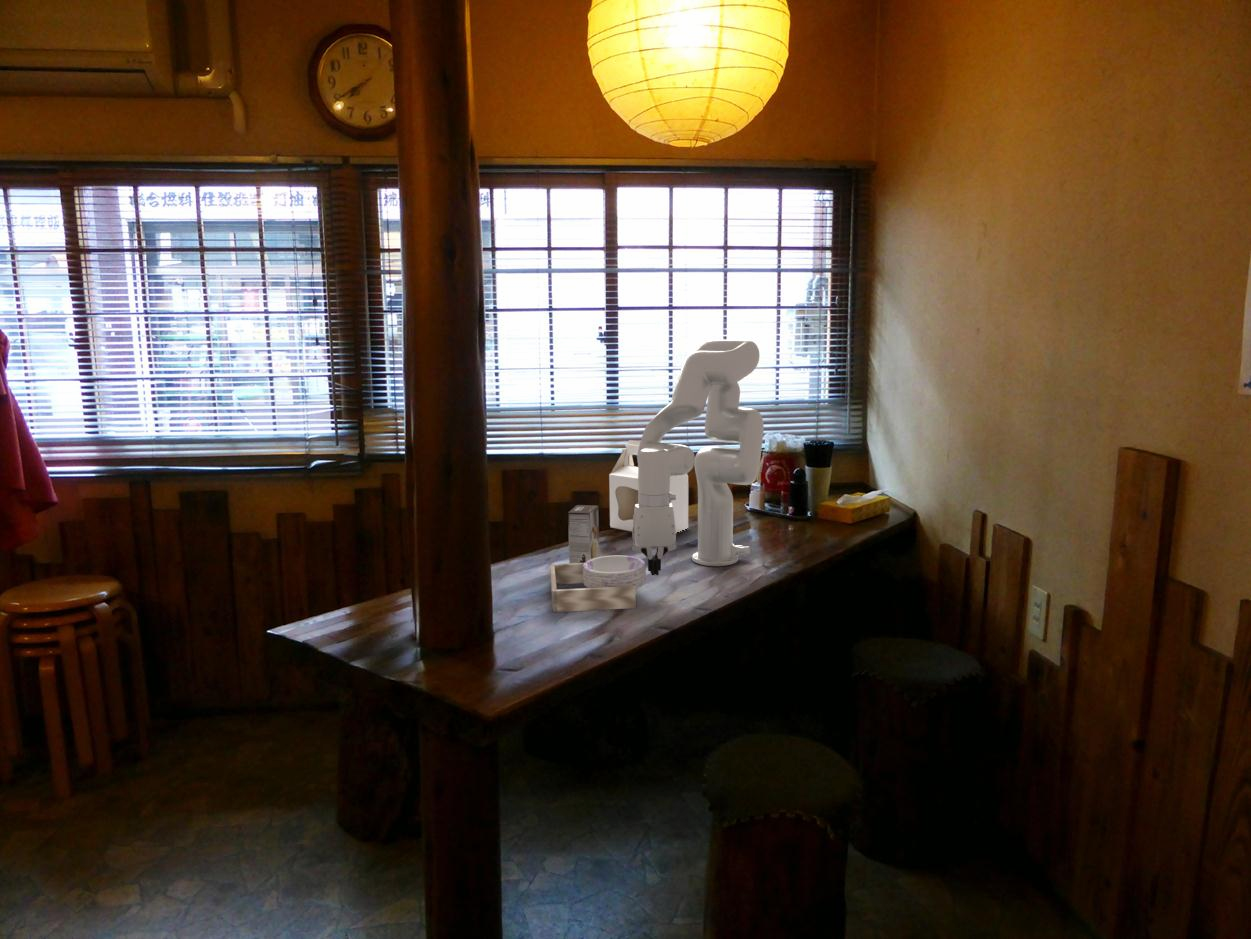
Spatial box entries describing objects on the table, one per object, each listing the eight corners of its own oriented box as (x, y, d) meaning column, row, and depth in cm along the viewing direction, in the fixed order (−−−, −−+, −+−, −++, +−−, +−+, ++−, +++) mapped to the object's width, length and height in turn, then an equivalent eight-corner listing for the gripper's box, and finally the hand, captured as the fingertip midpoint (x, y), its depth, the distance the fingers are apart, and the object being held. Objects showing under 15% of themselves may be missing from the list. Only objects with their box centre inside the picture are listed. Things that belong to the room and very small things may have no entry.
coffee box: (577, 560, 224) (576, 504, 221) (600, 561, 222) (599, 505, 220) (568, 570, 215) (567, 512, 212) (592, 571, 214) (591, 512, 211)
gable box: (609, 527, 260) (607, 441, 255) (634, 519, 270) (633, 436, 265) (664, 538, 246) (664, 447, 241) (689, 529, 256) (689, 442, 251)
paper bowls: (573, 590, 199) (572, 559, 197) (629, 581, 205) (628, 551, 204) (598, 609, 185) (598, 576, 184) (657, 599, 192) (657, 566, 190)
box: (625, 579, 207) (625, 561, 206) (635, 608, 186) (635, 587, 185) (550, 583, 204) (550, 564, 204) (552, 612, 184) (552, 591, 183)
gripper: (681, 495, 197) (681, 567, 201) (621, 497, 196) (622, 570, 199) (687, 502, 190) (687, 576, 193) (625, 504, 188) (625, 580, 191)
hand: (654, 573), depth 196 cm, fingers closed
